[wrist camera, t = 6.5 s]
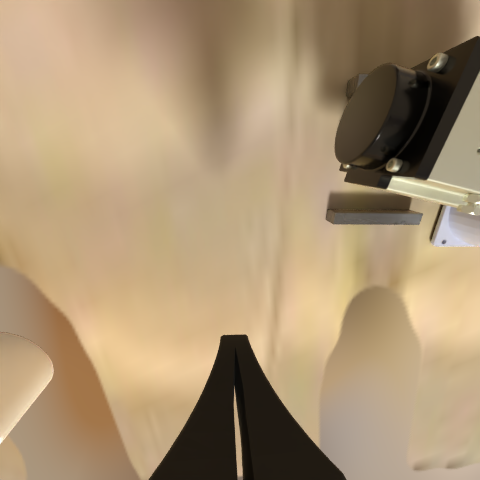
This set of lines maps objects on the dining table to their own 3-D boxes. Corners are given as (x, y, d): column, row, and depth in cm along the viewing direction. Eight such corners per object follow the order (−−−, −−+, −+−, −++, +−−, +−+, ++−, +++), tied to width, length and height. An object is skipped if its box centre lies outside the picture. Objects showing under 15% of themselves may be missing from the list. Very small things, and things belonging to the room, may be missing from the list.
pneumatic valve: (314, 102, 17) (480, -3, 6) (441, 138, 19) (760, 106, 8) (293, 174, 19) (393, 195, 8) (411, 201, 21) (635, 251, 9)
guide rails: (445, 86, 18) (464, 79, 16) (406, 220, 21) (419, 224, 20) (348, 81, 17) (359, 73, 16) (326, 219, 21) (333, 224, 19)
